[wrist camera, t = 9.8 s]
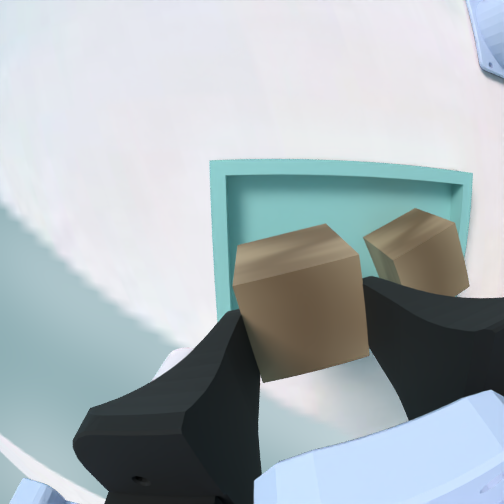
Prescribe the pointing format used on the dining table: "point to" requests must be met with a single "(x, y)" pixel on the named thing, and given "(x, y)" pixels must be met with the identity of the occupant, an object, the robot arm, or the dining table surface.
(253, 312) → the block
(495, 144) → the dining table surface
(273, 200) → the tray
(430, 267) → the block
